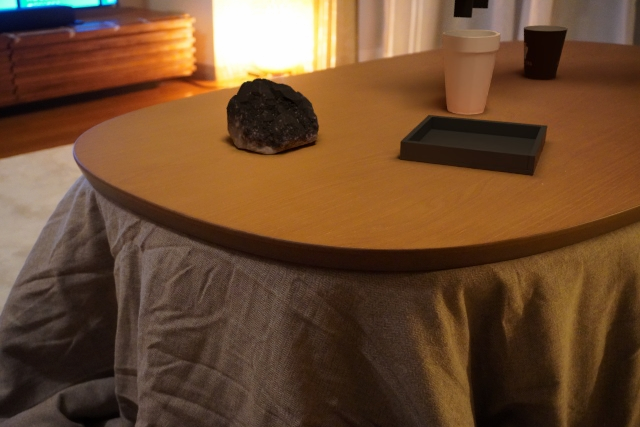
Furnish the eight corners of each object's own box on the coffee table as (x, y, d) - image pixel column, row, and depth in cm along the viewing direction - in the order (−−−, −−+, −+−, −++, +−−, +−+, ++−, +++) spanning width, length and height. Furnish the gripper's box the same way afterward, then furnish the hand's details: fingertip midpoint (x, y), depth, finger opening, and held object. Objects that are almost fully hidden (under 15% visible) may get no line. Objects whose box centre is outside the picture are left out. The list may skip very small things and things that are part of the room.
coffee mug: (556, 82, 127) (563, 31, 123) (514, 78, 131) (519, 29, 127) (567, 71, 136) (573, 24, 132) (526, 68, 140) (532, 23, 136)
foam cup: (479, 101, 114) (485, 28, 108) (503, 114, 105) (511, 35, 100) (430, 105, 112) (434, 31, 107) (450, 118, 104) (456, 38, 98)
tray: (545, 142, 91) (547, 125, 90) (532, 175, 79) (535, 155, 78) (427, 130, 98) (428, 114, 96) (399, 159, 85) (400, 141, 84)
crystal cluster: (331, 153, 90) (333, 84, 87) (239, 157, 86) (239, 84, 83) (302, 136, 102) (303, 74, 99) (220, 138, 98) (219, 74, 95)
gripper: (475, -128, 105) (465, 4, 114) (438, -142, 84) (429, 20, 93) (521, -130, 102) (506, 5, 111) (494, -145, 82) (479, 22, 90)
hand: (471, 12), depth 102 cm, fingers open, 13 cm apart
